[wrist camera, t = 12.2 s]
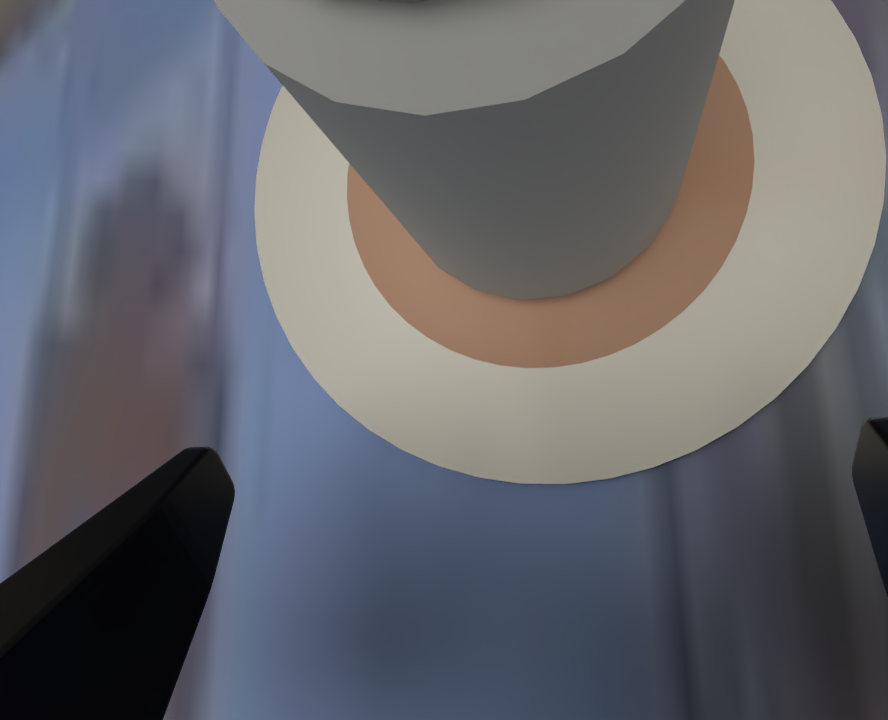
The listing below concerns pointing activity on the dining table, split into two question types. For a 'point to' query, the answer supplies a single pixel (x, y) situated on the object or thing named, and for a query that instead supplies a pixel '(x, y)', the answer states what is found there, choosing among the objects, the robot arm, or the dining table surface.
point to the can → (504, 120)
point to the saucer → (607, 302)
